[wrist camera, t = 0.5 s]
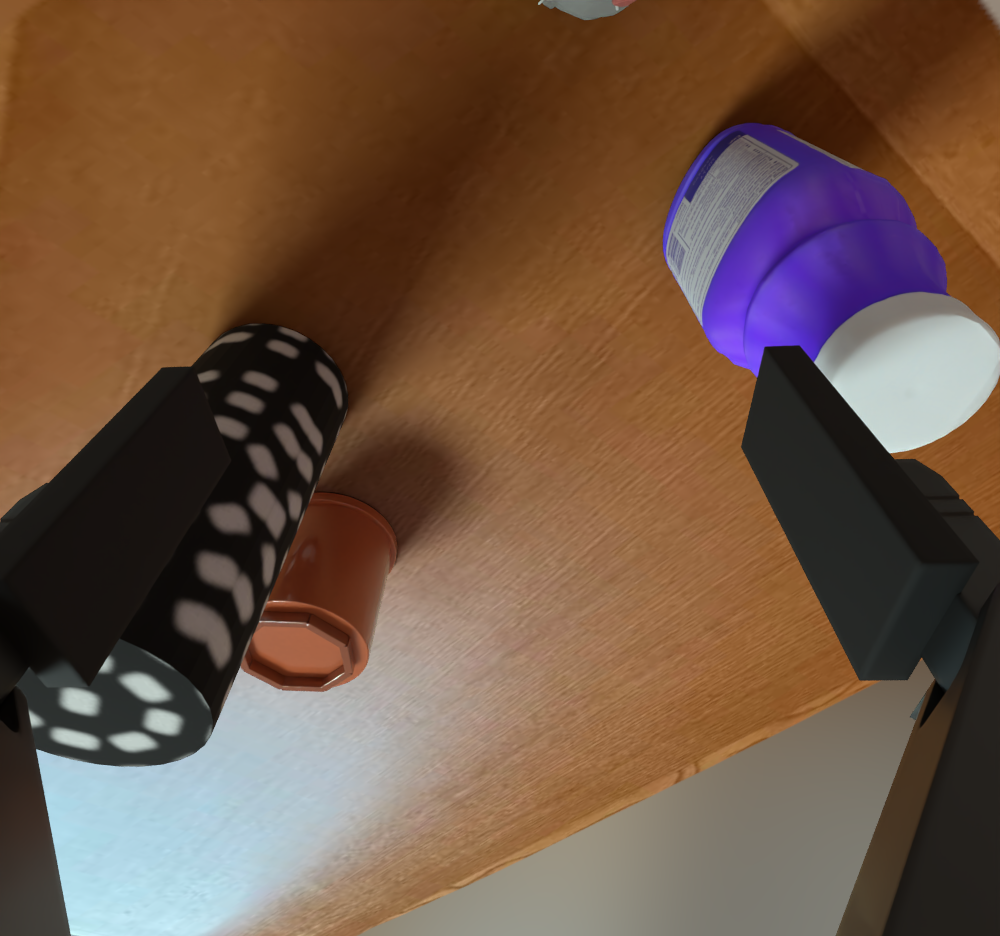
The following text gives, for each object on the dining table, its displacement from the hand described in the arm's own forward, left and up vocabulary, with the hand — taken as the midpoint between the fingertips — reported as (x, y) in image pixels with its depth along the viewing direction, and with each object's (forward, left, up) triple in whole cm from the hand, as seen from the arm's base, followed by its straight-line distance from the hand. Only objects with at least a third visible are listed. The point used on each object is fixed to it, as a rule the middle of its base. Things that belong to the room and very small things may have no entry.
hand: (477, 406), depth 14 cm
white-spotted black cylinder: (+11, -13, -19) cm, 25 cm away
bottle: (0, +11, -19) cm, 21 cm away
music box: (+23, -11, -18) cm, 31 cm away
